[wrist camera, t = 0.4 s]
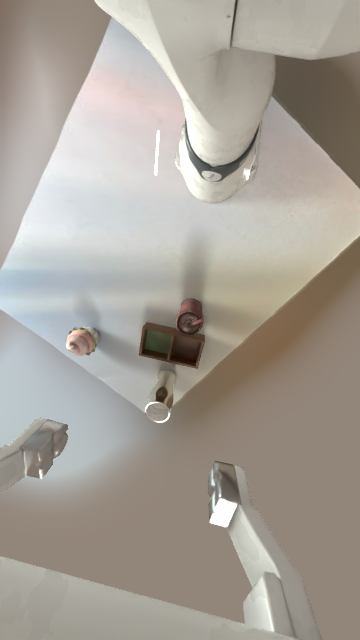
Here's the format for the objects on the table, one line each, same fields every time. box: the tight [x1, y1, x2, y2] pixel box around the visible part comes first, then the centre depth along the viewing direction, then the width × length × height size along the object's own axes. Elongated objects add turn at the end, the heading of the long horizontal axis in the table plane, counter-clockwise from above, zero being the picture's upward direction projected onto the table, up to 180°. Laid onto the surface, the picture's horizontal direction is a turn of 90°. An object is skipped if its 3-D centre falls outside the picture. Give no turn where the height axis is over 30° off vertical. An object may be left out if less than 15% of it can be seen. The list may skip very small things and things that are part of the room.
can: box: [175, 299, 203, 335], centre depth 46 cm, size 6×6×14 cm
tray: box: [139, 323, 205, 369], centre depth 55 cm, size 9×18×4 cm, turn 79°
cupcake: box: [66, 327, 100, 355], centre depth 54 cm, size 9×9×10 cm
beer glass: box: [145, 370, 176, 422], centre depth 54 cm, size 7×7×15 cm
